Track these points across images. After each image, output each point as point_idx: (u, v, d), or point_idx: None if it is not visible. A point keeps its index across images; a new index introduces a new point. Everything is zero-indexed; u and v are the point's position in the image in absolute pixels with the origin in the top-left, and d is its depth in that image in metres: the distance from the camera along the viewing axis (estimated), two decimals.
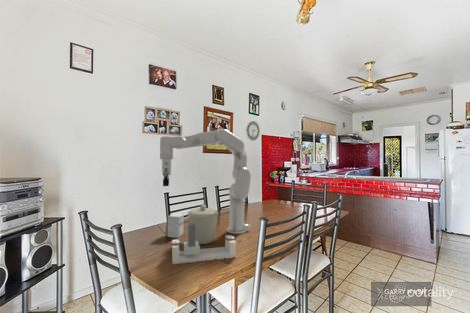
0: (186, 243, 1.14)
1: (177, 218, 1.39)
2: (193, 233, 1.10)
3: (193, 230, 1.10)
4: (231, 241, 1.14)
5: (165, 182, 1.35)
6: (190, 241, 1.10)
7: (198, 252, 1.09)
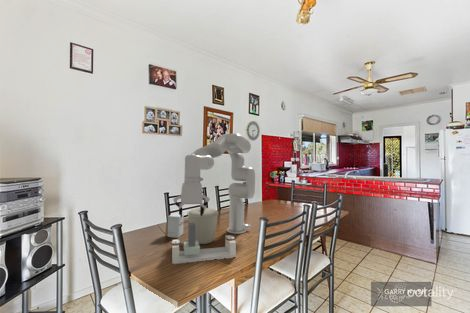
0: (186, 243, 1.14)
1: (177, 218, 1.39)
2: (193, 233, 1.10)
3: (193, 230, 1.10)
4: (231, 241, 1.14)
5: (203, 210, 1.13)
6: (190, 241, 1.10)
7: (198, 252, 1.09)
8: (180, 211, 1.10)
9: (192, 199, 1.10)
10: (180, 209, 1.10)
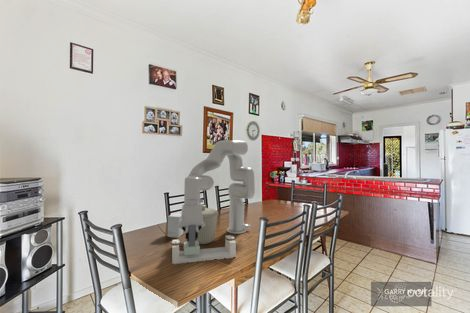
0: (186, 243, 1.14)
1: (177, 218, 1.39)
2: (193, 233, 1.10)
3: (193, 230, 1.10)
4: (231, 241, 1.14)
5: (197, 235, 1.13)
6: (190, 241, 1.10)
7: (198, 252, 1.09)
8: None
9: (192, 221, 1.10)
10: None
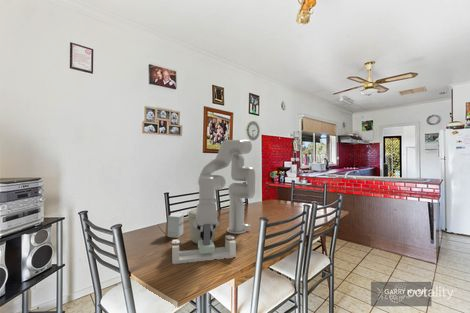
0: (201, 242, 1.16)
1: (177, 218, 1.39)
2: (208, 232, 1.12)
3: (208, 229, 1.12)
4: (231, 241, 1.14)
5: None
6: (205, 240, 1.12)
7: (213, 251, 1.11)
8: (201, 234, 1.13)
9: (207, 220, 1.12)
10: (201, 232, 1.13)
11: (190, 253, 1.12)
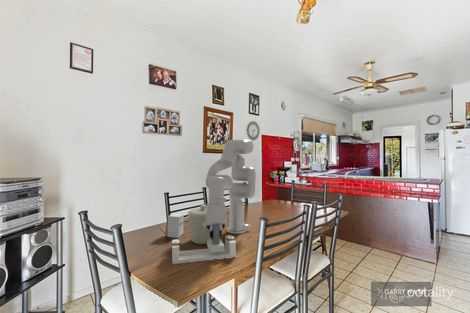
0: (210, 241, 1.17)
1: (177, 218, 1.39)
2: (217, 231, 1.13)
3: (218, 229, 1.13)
4: (231, 241, 1.14)
5: None
6: (215, 239, 1.13)
7: (223, 250, 1.12)
8: (211, 234, 1.14)
9: (216, 220, 1.13)
10: (211, 232, 1.14)
11: (190, 253, 1.12)
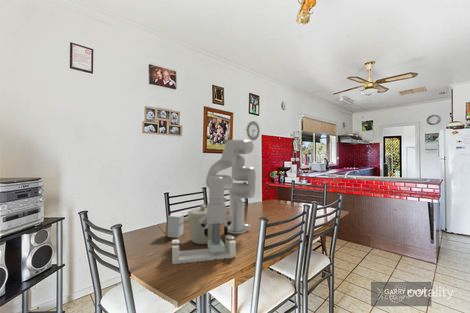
0: (210, 241, 1.17)
1: (177, 218, 1.39)
2: (218, 231, 1.13)
3: (218, 229, 1.13)
4: (231, 241, 1.14)
5: None
6: (215, 239, 1.13)
7: (223, 250, 1.12)
8: (205, 231, 1.13)
9: (217, 220, 1.13)
10: (205, 229, 1.13)
11: (190, 253, 1.12)
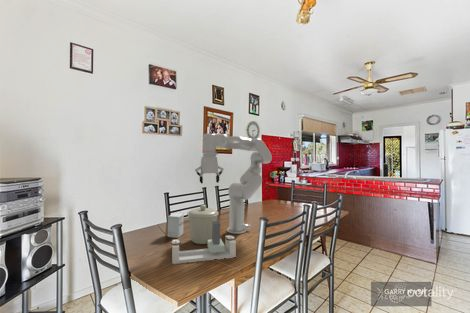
0: (210, 241, 1.17)
1: (177, 218, 1.39)
2: (218, 231, 1.13)
3: (218, 229, 1.13)
4: (231, 241, 1.14)
5: None
6: (215, 239, 1.13)
7: (223, 250, 1.12)
8: None
9: (210, 169, 1.37)
10: None
11: (190, 253, 1.12)
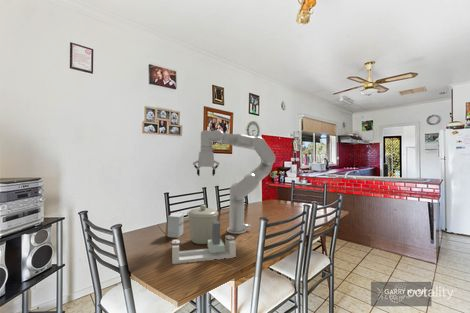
0: (210, 241, 1.17)
1: (177, 218, 1.39)
2: (218, 231, 1.13)
3: (218, 229, 1.13)
4: (231, 241, 1.14)
5: None
6: (215, 239, 1.13)
7: (223, 250, 1.12)
8: None
9: (206, 163, 1.50)
10: None
11: (190, 253, 1.12)
